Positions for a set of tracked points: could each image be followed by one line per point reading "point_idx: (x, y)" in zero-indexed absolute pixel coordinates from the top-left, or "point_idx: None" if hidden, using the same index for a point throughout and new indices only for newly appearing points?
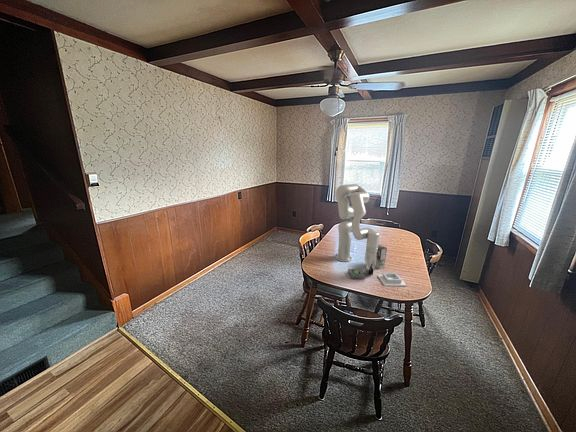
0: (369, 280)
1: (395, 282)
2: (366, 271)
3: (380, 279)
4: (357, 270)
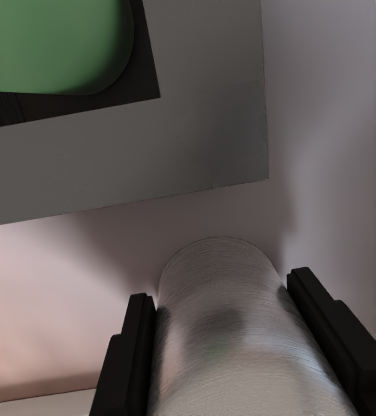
0: (2, 273)
1: None
2: (192, 285)
3: (63, 407)
4: (66, 25)
